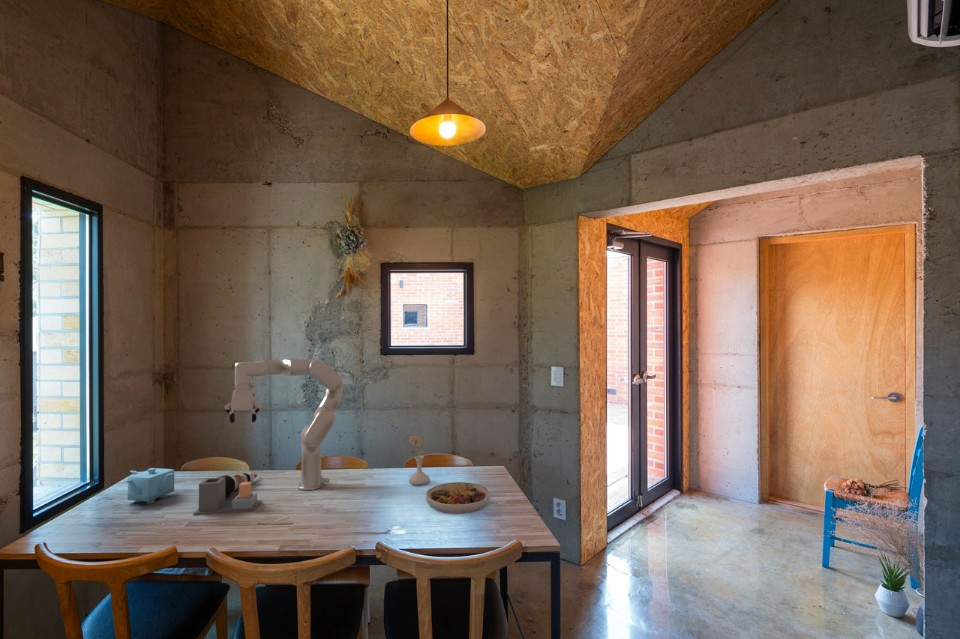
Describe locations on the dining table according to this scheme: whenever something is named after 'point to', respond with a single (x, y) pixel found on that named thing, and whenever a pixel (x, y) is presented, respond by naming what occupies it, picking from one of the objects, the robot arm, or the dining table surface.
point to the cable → (237, 481)
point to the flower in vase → (418, 463)
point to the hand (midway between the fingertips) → (243, 422)
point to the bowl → (457, 497)
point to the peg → (245, 490)
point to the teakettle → (150, 484)
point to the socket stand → (222, 499)
